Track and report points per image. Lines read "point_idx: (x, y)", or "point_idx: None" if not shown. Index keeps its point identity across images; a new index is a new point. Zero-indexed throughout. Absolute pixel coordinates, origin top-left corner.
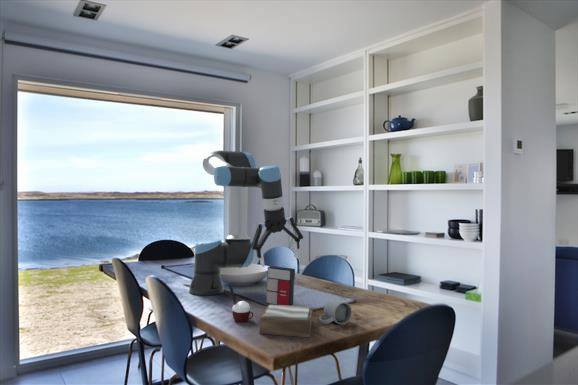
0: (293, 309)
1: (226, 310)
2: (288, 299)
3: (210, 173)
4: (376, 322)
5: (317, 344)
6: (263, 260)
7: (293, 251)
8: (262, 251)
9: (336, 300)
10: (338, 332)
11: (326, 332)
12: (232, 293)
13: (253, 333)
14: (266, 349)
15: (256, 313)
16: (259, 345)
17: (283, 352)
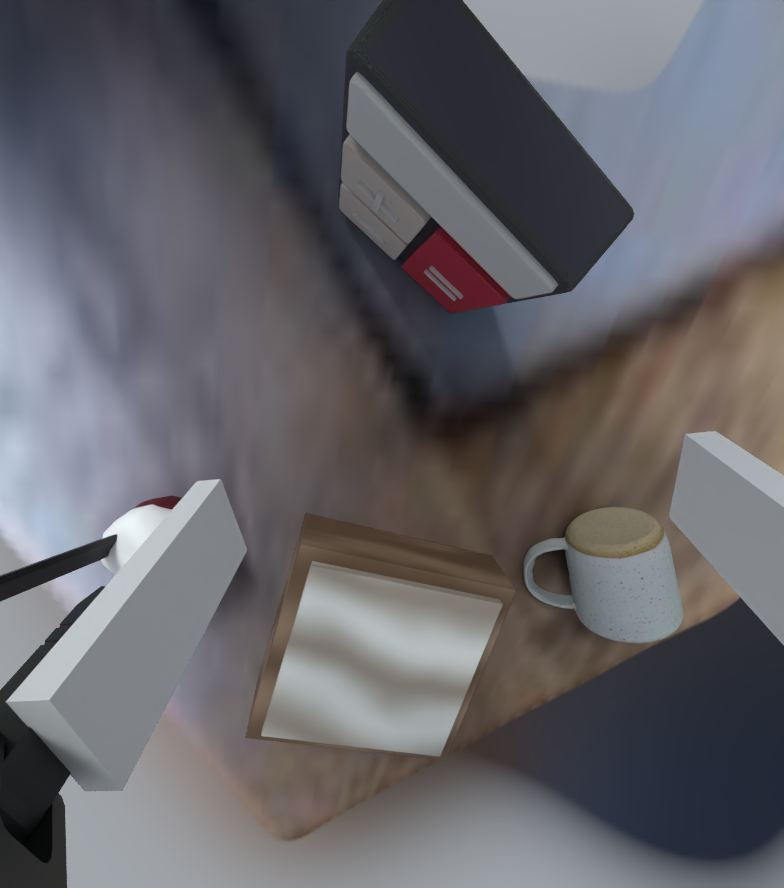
0: (414, 648)
1: (83, 340)
2: (462, 310)
3: None
4: None
5: (436, 760)
6: (209, 611)
7: (738, 475)
8: (132, 758)
9: (654, 585)
10: (543, 662)
11: (503, 663)
12: (46, 580)
13: (233, 678)
14: (269, 802)
15: (261, 412)
16: (249, 776)
17: (318, 817)
